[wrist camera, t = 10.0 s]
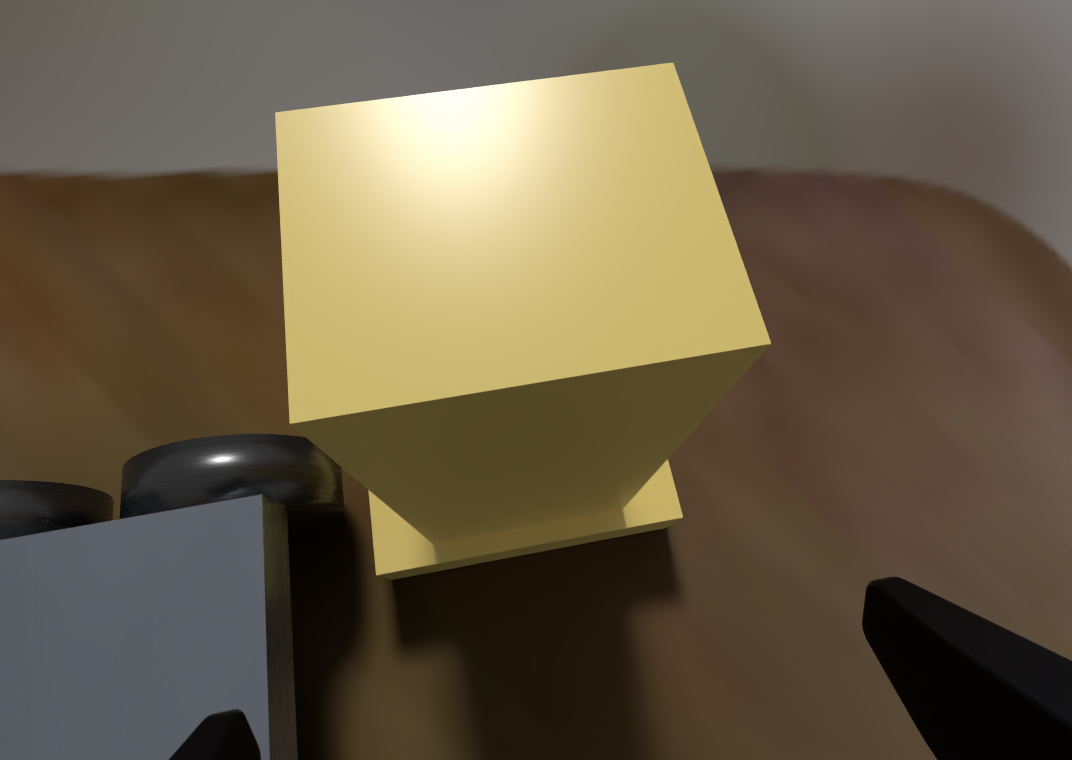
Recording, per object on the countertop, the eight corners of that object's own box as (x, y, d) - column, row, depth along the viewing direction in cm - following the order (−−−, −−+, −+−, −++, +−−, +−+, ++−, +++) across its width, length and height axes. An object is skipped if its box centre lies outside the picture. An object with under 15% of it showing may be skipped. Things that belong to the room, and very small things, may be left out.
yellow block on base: (666, 528, 18) (922, 363, 7) (391, 579, 18) (130, 501, 6) (626, 371, 20) (772, 21, 8) (375, 412, 19) (149, 96, 8)
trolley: (394, 870, 15) (270, 1115, 8) (-91, 981, 14) (-772, 1383, 7) (360, 470, 19) (250, 370, 11) (-31, 538, 18) (-435, 478, 10)
